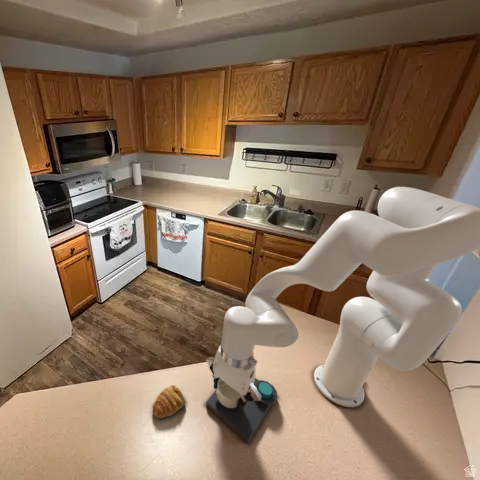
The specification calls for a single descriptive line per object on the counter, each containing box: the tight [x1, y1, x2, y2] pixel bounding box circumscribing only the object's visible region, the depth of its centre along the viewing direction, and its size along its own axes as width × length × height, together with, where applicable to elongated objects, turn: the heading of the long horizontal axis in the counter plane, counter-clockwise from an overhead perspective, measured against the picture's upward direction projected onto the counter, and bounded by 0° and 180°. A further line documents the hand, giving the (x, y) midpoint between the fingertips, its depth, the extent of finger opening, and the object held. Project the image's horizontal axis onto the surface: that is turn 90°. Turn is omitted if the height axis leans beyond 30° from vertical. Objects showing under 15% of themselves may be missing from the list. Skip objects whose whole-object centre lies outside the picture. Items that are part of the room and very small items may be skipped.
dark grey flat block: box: [205, 377, 278, 444], centre depth 73 cm, size 16×14×4 cm
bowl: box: [215, 379, 240, 408], centre depth 71 cm, size 7×7×4 cm
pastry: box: [152, 384, 187, 419], centre depth 73 cm, size 9×7×4 cm
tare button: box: [258, 382, 272, 398], centre depth 72 cm, size 4×4×2 cm
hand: (229, 394), depth 72 cm, fingers closed on bowl, 6 cm apart
